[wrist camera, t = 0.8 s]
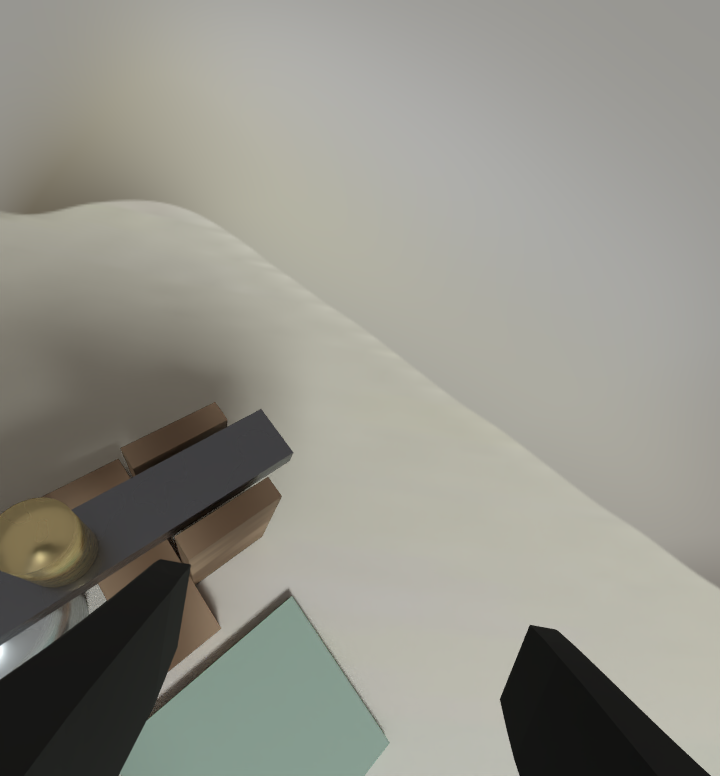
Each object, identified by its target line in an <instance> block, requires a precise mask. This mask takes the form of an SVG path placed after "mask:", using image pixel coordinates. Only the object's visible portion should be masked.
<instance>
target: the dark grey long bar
mask: <svg viewBox="0 0 720 776" xmlns="http://www.w3.org/2000/svg"><path fill="white" fill-rule="evenodd" d="M292 454H293V452H292V450H291V449H290V447H289V446H288V445H287V443H286V442H285V441H284V439H283V438H282V437H281V435H280V434H279V433H278V431H277V430H276V429H275V427H274V426H273V424H272V423H271V422H270V420H269V419H268V418H267V416H266V415H265V414H264V412H263V411H262V410H261V409H260V410H258V411H256V412H255V413H253V414H251V415H249V416H247V417H245V418H243V419H241V420H239V421H238V422H236V423H234V424H232V425H230V426H228V427H226V428H224V429H223V430H221V431H219V432H217V433H215V434H213V435H211V436H209V437H207V438H206V439H204V440H202V441H200V442H198V443H196V444H194V445H192V446H191V447H189V448H187V449H185V450H183V451H181V452H179V453H177V454H175V455H174V456H172V457H170V458H168V459H166V460H164V461H162V462H160V463H158V464H157V465H155V466H153V467H151V468H149V469H147V470H145V471H143V472H142V473H140V474H138V475H136V476H134V477H132V478H130V479H128V480H126V481H125V482H123V483H121V484H119V485H117V486H115V487H113V488H111V489H110V490H108V491H106V492H104V493H102V494H100V495H98V496H96V497H94V498H93V499H91V500H89V501H87V502H85V503H83V504H81V505H79V506H78V507H76V508H74V509H72V510H71V509H70V508H69V507H68V506H67V505H65V504H64V503H62V502H61V501H58V500H56V499H52V498H33V499H29V500H25V501H22V502H20V503H18V504H15V505H14V506H12V507H10V508H9V509H7V510H6V511H5V512H3V513H2V514H1V515H0V646H1V645H2V644H4V643H5V642H7V641H9V640H10V639H12V638H13V637H15V636H16V635H18V634H20V633H21V632H23V631H24V630H26V629H27V628H29V627H30V626H32V625H34V624H35V623H37V622H38V621H40V620H41V619H43V618H45V617H46V616H48V615H49V614H51V613H52V612H54V611H56V610H57V609H59V608H60V607H62V606H63V605H65V604H66V603H68V602H70V601H71V600H73V599H74V598H76V597H77V596H79V595H81V594H82V593H84V592H85V591H87V590H88V589H90V588H92V587H93V586H95V585H96V584H98V583H99V582H101V581H102V580H104V579H106V578H107V577H109V576H110V575H112V574H113V573H115V572H117V571H118V570H120V569H121V568H123V567H124V566H126V565H128V564H129V563H131V562H132V561H134V560H135V559H137V558H138V557H140V556H142V555H143V554H145V553H146V552H148V551H149V550H151V549H153V548H154V547H156V546H157V545H159V544H160V543H162V542H164V541H165V540H167V539H168V538H170V537H171V536H173V535H174V534H176V533H178V532H179V531H181V530H182V529H184V528H185V527H187V526H189V525H190V524H192V523H193V522H195V521H196V520H198V519H200V518H201V517H203V516H204V515H206V514H207V513H209V512H210V511H212V510H214V509H215V508H217V507H218V506H220V505H221V504H223V503H225V502H226V501H228V500H229V499H231V498H232V497H234V496H236V495H237V494H239V493H240V492H242V491H243V490H245V489H246V488H248V487H250V486H251V485H253V484H254V483H256V482H257V481H259V480H261V479H262V478H264V477H265V476H267V475H268V474H270V473H272V472H273V471H275V470H276V469H278V468H279V467H281V466H282V465H284V464H286V463H287V462H289V461H290V459H291V457H292Z"/></svg>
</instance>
